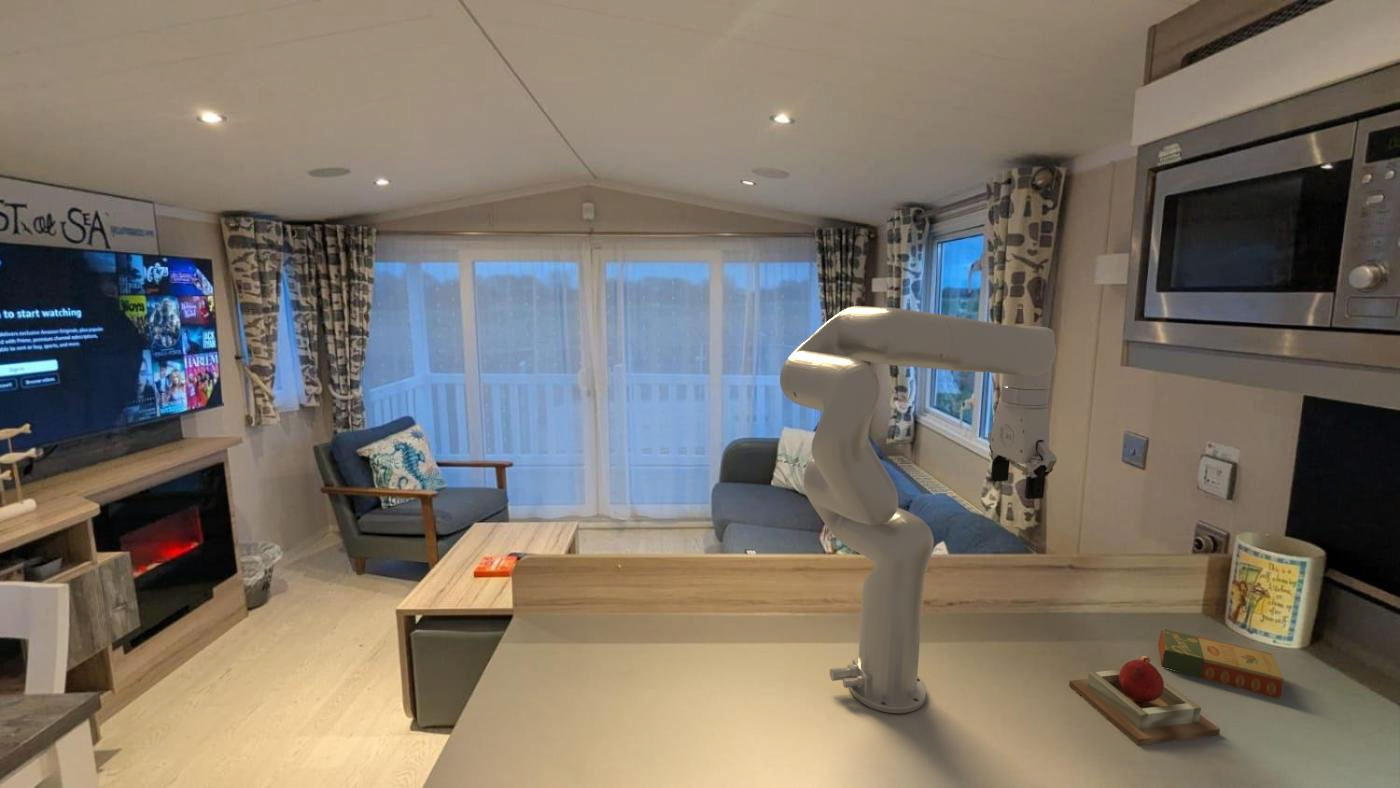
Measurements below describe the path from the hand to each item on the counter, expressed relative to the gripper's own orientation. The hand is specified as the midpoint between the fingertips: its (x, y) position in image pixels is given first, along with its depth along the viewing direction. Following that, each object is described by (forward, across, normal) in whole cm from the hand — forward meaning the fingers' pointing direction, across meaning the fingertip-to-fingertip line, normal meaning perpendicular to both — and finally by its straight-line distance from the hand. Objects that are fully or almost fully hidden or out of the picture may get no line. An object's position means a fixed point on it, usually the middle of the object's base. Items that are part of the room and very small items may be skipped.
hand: (1015, 489), depth 115 cm
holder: (+30, +21, +10) cm, 38 cm away
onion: (+30, +21, +10) cm, 37 cm away
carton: (+31, +14, +32) cm, 46 cm away
